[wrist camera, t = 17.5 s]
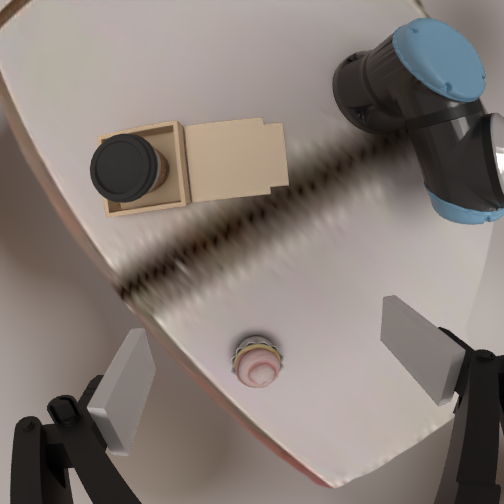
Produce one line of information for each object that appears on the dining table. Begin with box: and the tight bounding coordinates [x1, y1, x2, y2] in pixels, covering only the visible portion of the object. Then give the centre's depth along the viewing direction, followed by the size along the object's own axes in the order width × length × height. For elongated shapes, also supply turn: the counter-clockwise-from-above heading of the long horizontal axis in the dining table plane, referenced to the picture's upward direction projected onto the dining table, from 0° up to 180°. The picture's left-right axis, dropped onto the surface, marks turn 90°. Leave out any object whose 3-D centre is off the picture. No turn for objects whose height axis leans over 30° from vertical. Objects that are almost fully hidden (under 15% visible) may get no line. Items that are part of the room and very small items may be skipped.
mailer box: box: [97, 118, 289, 218], centre depth 44 cm, size 28×12×6 cm, turn 96°
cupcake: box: [231, 336, 284, 388], centre depth 50 cm, size 9×9×10 cm
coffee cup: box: [90, 133, 169, 203], centre depth 38 cm, size 8×8×15 cm
